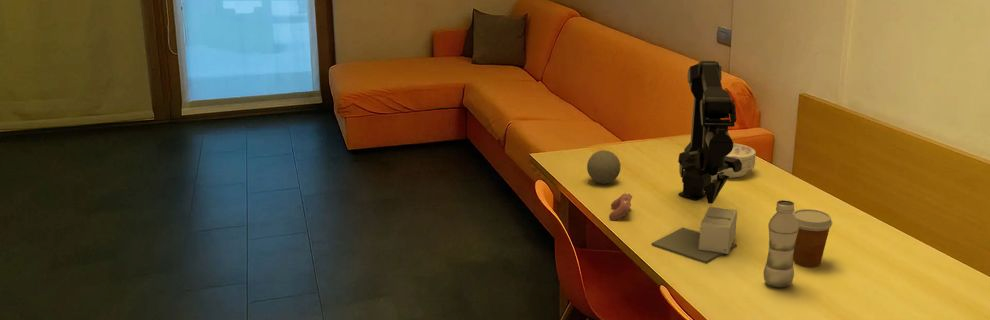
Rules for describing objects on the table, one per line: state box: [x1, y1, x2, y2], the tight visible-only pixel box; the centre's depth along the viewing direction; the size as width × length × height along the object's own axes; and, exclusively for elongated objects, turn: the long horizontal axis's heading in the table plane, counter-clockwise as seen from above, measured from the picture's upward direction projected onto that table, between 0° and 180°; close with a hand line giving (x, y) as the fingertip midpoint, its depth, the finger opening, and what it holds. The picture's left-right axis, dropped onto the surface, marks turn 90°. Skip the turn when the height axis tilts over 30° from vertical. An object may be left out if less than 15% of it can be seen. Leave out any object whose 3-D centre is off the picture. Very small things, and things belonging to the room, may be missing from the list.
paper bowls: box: [724, 142, 757, 179], centre depth 278 cm, size 15×15×8 cm
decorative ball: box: [586, 149, 621, 185], centre depth 271 cm, size 10×10×10 cm
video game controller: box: [608, 192, 633, 221], centre depth 247 cm, size 10×5×7 cm, turn 169°
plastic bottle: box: [763, 199, 799, 288], centre depth 203 cm, size 6×7×20 cm
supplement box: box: [699, 206, 738, 255], centre depth 226 cm, size 7×7×13 cm
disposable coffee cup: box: [793, 208, 833, 268], centre depth 216 cm, size 10×10×12 cm
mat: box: [650, 227, 738, 264], centre depth 227 cm, size 14×16×1 cm
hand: (710, 203), depth 229 cm, fingers closed
